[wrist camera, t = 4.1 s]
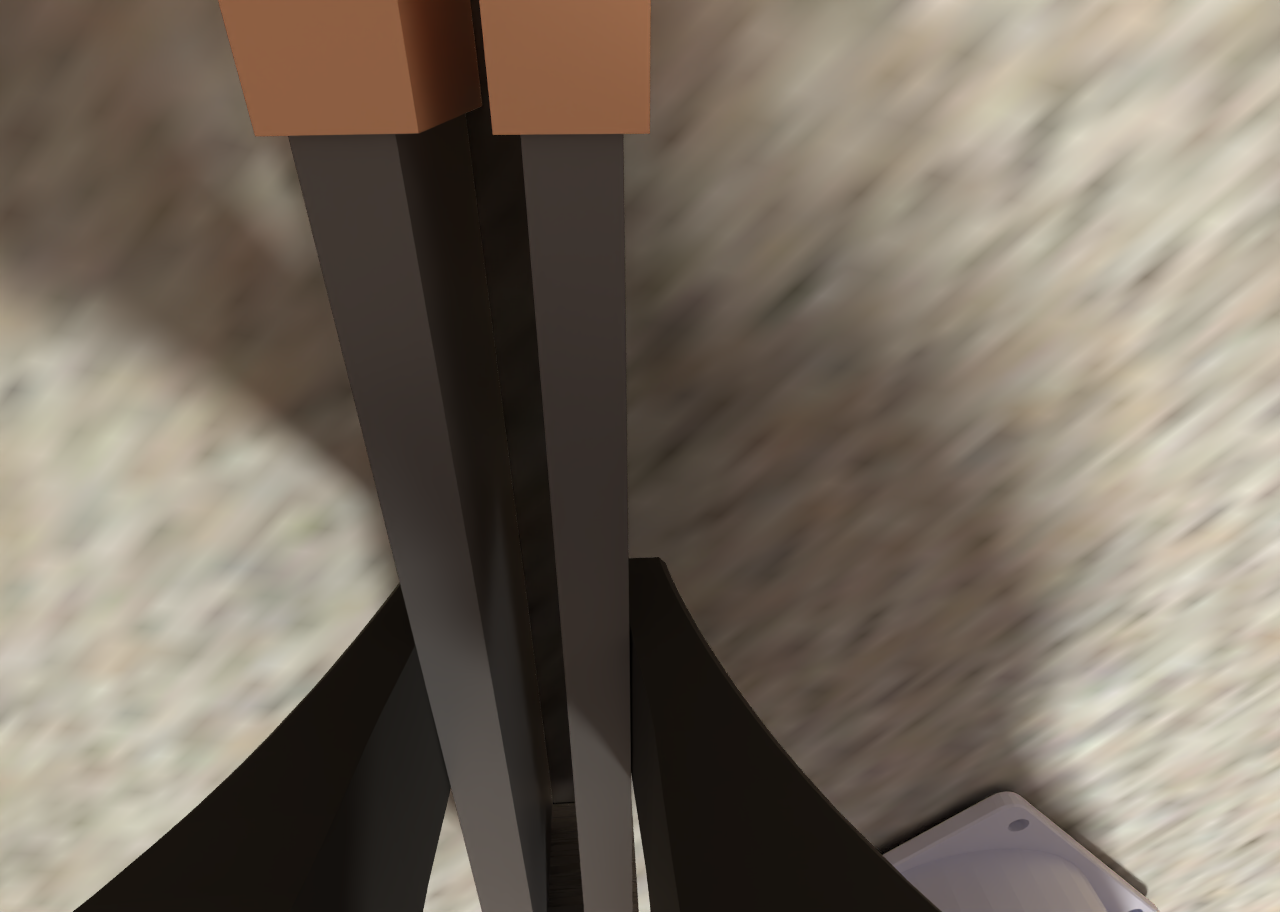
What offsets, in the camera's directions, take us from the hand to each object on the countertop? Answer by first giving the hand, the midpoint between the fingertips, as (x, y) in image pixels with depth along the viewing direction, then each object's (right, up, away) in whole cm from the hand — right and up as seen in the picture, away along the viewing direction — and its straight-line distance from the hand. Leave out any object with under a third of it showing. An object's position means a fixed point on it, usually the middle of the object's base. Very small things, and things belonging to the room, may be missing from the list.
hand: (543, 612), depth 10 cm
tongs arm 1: (+1, +2, +1) cm, 2 cm away
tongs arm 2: (-1, +2, +1) cm, 2 cm away
